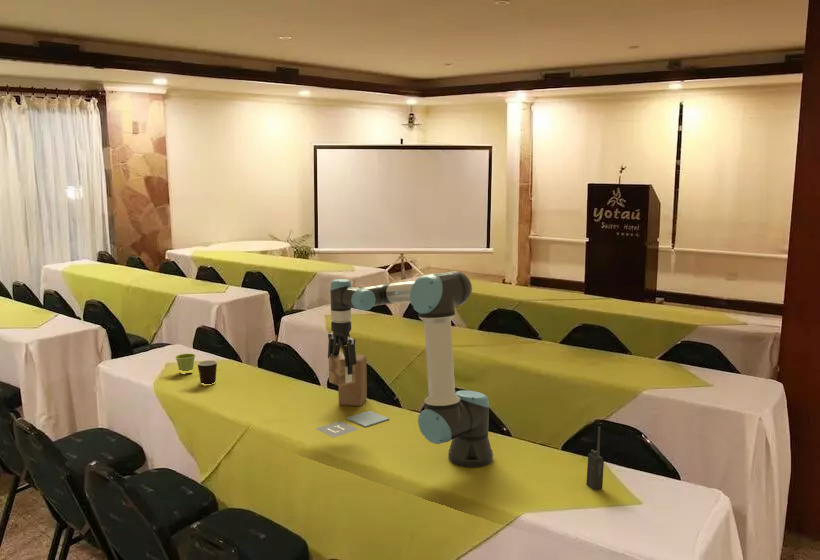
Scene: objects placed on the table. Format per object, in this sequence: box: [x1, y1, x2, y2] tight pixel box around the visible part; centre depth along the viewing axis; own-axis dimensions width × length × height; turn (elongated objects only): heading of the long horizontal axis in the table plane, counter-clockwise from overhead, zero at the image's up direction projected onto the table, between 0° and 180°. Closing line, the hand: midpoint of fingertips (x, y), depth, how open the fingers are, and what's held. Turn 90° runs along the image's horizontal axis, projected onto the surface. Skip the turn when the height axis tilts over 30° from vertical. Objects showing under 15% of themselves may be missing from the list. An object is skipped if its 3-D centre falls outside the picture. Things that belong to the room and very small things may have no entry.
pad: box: [346, 410, 390, 428], centre depth 263 cm, size 12×12×1 cm
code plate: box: [314, 420, 360, 438], centre depth 253 cm, size 12×12×1 cm
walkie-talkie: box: [585, 426, 605, 491], centre depth 205 cm, size 5×3×20 cm
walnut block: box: [328, 353, 355, 387], centre depth 251 cm, size 7×7×10 cm
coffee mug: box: [196, 359, 218, 384], centre depth 308 cm, size 12×9×10 cm
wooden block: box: [337, 353, 368, 407], centre depth 281 cm, size 10×10×20 cm
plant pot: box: [174, 353, 196, 371], centre depth 323 cm, size 9×9×9 cm
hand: (342, 380), depth 252 cm, fingers closed on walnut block, 7 cm apart
